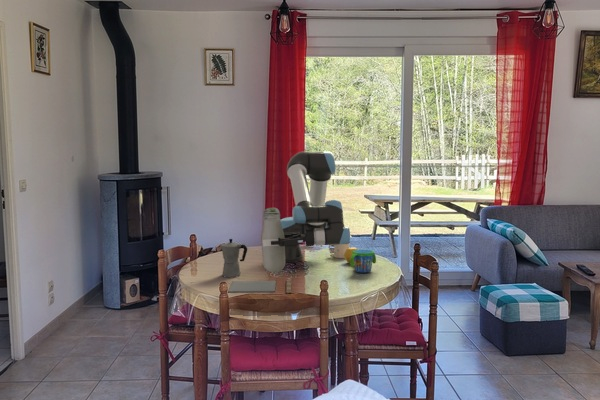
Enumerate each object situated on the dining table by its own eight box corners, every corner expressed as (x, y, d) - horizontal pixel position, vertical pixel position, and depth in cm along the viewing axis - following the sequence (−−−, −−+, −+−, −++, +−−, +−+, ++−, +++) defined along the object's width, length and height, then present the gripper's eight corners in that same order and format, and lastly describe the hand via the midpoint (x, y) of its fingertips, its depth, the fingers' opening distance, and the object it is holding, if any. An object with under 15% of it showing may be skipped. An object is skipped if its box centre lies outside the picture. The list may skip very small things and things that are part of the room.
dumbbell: (371, 269, 247) (371, 253, 247) (354, 271, 245) (354, 254, 244) (358, 261, 266) (358, 246, 265) (342, 262, 264) (342, 247, 263)
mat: (232, 282, 226) (232, 281, 226) (276, 281, 227) (276, 280, 227) (228, 292, 211) (228, 291, 210) (274, 291, 211) (274, 290, 211)
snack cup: (369, 267, 251) (369, 248, 251) (382, 271, 242) (382, 251, 242) (344, 271, 244) (344, 251, 243) (357, 275, 234) (357, 254, 234)
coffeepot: (214, 276, 237) (213, 239, 235) (224, 271, 246) (223, 236, 244) (243, 279, 231) (242, 241, 229) (252, 274, 240) (251, 238, 238)
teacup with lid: (348, 254, 282) (348, 234, 281) (351, 258, 273) (351, 237, 272) (327, 255, 281) (327, 235, 280) (329, 258, 272) (329, 238, 271)
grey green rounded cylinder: (268, 275, 207) (264, 210, 204) (260, 270, 217) (256, 208, 213) (290, 272, 212) (286, 207, 208) (280, 267, 221) (277, 205, 217)
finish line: (286, 281, 228) (286, 279, 228) (291, 280, 228) (291, 279, 228) (286, 293, 208) (286, 292, 208) (291, 293, 208) (291, 292, 208)
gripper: (316, 251, 202) (263, 255, 201) (312, 240, 225) (264, 243, 224) (315, 233, 201) (261, 237, 200) (311, 224, 224) (263, 227, 223)
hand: (263, 240), depth 212 cm, fingers closed on grey green rounded cylinder, 10 cm apart
